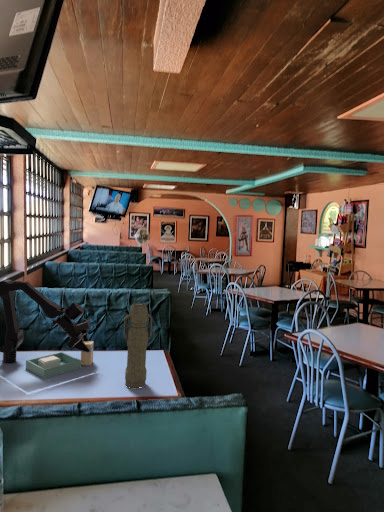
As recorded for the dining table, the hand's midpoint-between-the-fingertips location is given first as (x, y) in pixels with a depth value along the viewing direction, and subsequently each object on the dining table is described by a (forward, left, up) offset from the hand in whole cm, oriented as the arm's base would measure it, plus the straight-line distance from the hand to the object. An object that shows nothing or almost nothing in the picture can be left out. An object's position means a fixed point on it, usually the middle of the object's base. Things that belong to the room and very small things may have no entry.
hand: (90, 349), depth 174 cm
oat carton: (-1, -1, -7) cm, 7 cm away
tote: (-6, -15, -8) cm, 18 cm away
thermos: (+32, +1, -8) cm, 33 cm away
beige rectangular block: (-10, -15, -7) cm, 20 cm away
